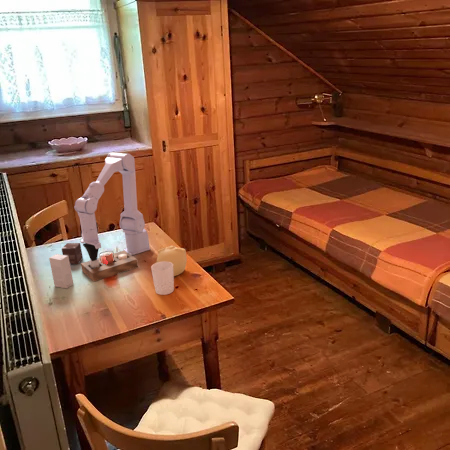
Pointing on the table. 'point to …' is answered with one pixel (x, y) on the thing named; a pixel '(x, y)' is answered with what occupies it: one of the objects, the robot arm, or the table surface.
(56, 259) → the skincare box
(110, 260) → the salmon pink egg
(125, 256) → the cream plug
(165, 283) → the white cup
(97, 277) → the light brown rack
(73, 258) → the box
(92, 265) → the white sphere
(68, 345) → the table surface
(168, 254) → the pale yellow rounded lump
